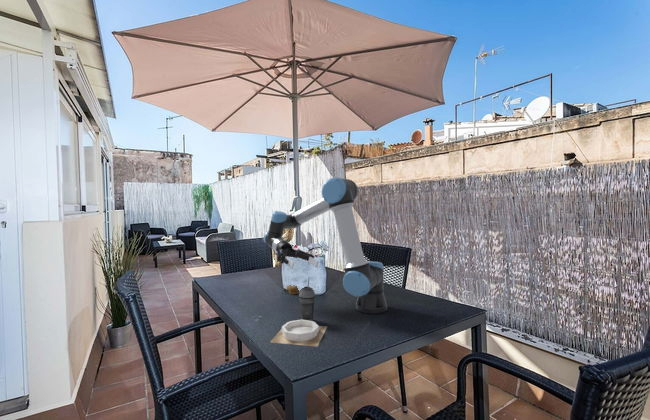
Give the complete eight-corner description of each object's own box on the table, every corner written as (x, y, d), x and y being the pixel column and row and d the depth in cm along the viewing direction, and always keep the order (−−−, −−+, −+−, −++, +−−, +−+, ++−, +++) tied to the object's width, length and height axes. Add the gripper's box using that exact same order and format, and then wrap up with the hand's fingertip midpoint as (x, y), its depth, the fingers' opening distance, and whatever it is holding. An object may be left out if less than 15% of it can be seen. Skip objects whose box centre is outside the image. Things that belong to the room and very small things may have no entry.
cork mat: (327, 328, 128) (327, 326, 128) (317, 348, 110) (317, 346, 110) (285, 324, 131) (285, 323, 131) (270, 343, 114) (270, 342, 114)
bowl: (322, 329, 125) (322, 322, 124) (308, 344, 112) (308, 336, 112) (292, 325, 130) (292, 318, 129) (276, 338, 117) (276, 330, 117)
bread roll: (298, 301, 174) (303, 289, 173) (282, 292, 176) (287, 280, 175) (302, 296, 184) (308, 284, 183) (287, 288, 186) (293, 276, 185)
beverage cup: (306, 318, 139) (306, 274, 139) (319, 321, 134) (318, 276, 134) (295, 323, 133) (294, 277, 133) (307, 327, 129) (307, 279, 128)
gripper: (300, 254, 164) (324, 271, 148) (258, 254, 148) (279, 274, 132) (304, 241, 163) (328, 257, 147) (261, 240, 147) (283, 257, 131)
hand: (305, 265), depth 140 cm, fingers open, 13 cm apart
